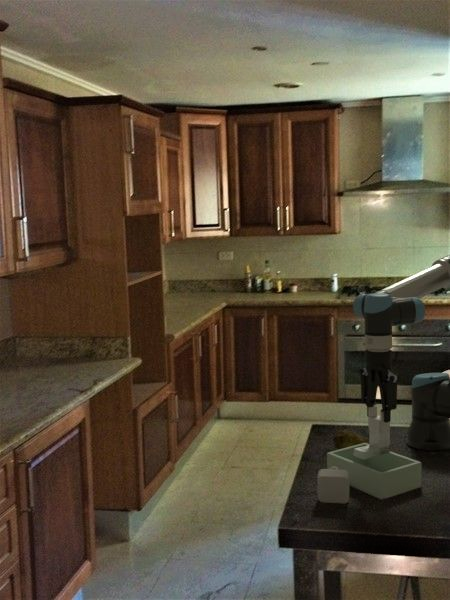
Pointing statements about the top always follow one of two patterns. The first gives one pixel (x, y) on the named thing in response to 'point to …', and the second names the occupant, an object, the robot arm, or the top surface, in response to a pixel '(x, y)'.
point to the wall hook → (333, 485)
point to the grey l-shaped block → (374, 441)
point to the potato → (348, 439)
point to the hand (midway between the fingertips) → (378, 430)
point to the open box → (377, 472)
